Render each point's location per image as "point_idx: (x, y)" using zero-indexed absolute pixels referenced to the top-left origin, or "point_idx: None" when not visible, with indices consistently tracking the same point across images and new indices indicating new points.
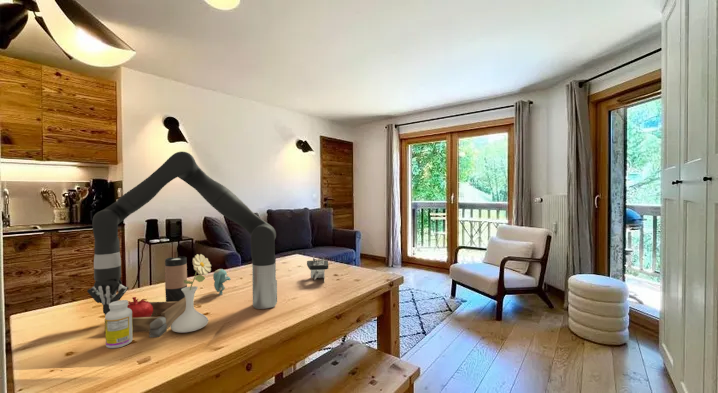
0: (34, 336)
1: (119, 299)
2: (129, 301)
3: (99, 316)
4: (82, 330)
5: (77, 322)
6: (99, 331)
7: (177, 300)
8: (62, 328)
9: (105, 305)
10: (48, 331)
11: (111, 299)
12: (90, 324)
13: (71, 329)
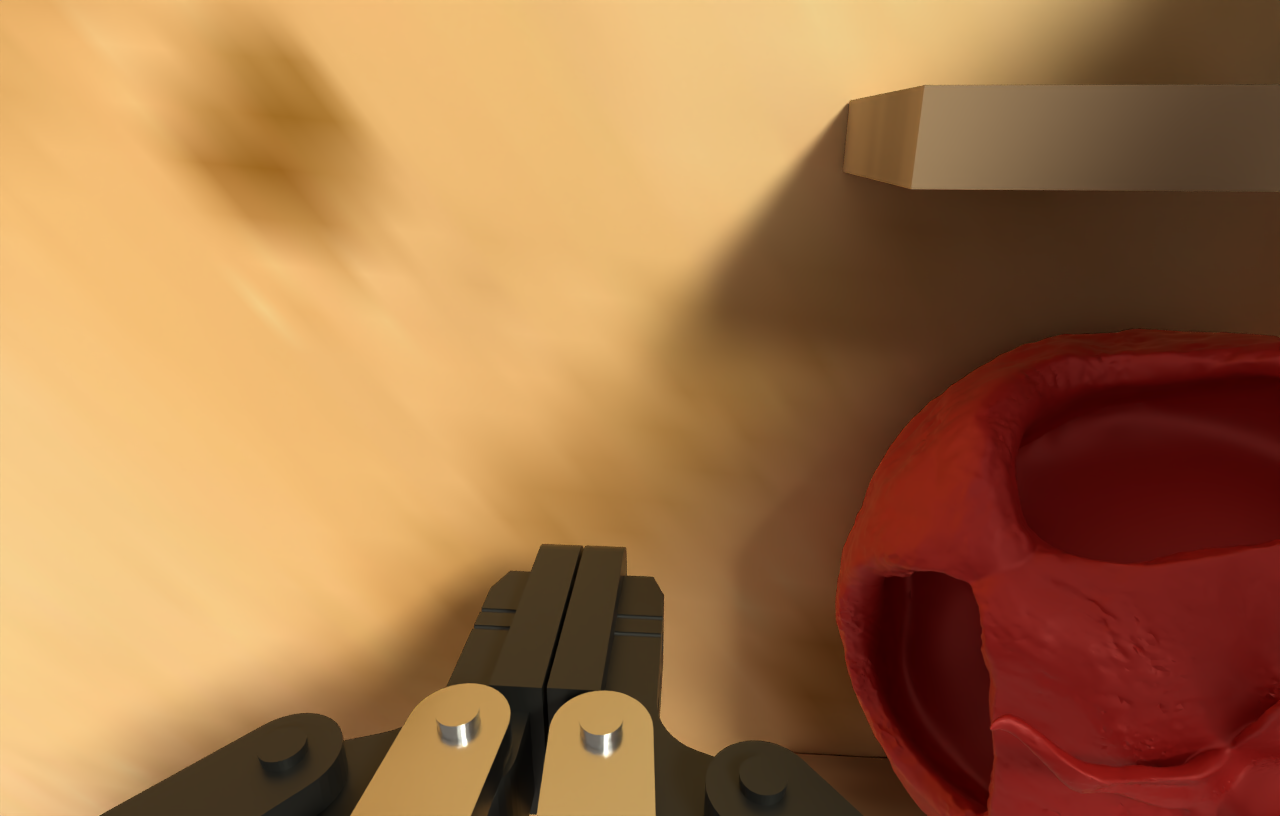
0: (21, 763)
1: (809, 788)
2: (1117, 787)
3: (192, 177)
4: (428, 686)
5: (81, 418)
6: (678, 738)
7: None
8: (97, 599)
9: (535, 797)
10: (22, 663)
11: (568, 791)
12: (358, 513)
13: (252, 642)
